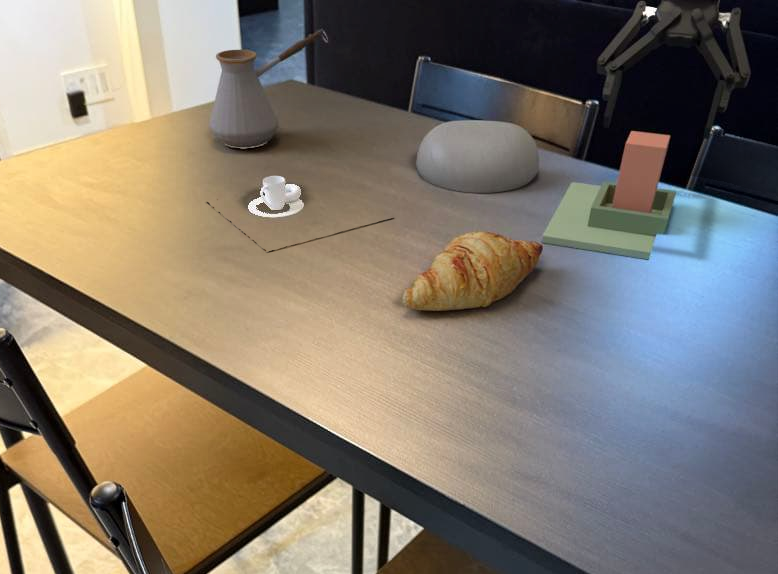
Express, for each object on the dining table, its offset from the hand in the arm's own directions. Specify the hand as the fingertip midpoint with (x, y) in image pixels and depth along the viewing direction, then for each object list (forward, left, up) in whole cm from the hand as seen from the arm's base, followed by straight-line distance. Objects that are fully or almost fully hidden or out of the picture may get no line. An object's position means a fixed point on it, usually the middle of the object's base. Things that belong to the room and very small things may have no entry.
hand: (655, 128), depth 105 cm
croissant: (+15, +36, -10) cm, 40 cm away
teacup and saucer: (+45, +22, -10) cm, 51 cm away
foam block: (0, +10, -8) cm, 13 cm away
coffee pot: (+62, -4, -10) cm, 63 cm away
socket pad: (0, +10, -9) cm, 14 cm away
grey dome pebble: (+25, -1, -10) cm, 27 cm away
